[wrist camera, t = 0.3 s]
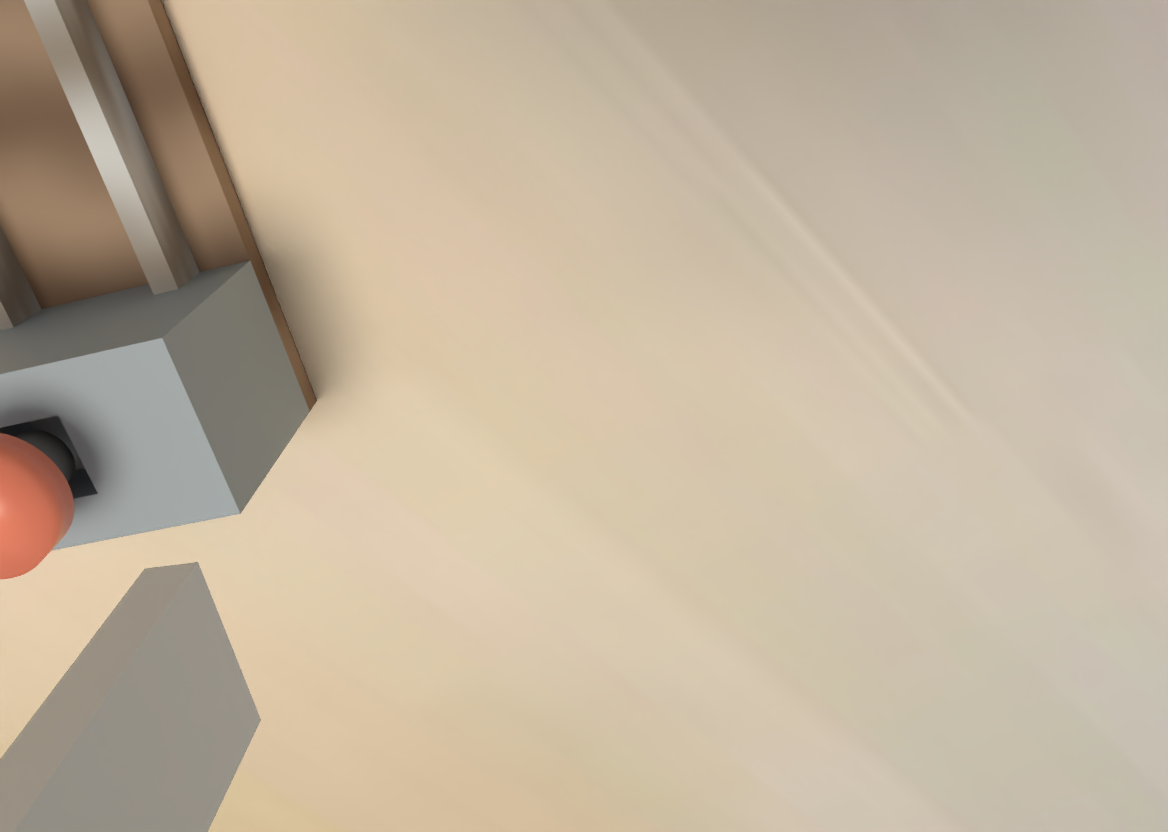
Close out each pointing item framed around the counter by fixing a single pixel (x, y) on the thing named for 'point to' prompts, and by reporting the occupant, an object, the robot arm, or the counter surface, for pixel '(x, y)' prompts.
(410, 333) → the counter surface
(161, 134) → the rail track
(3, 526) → the button
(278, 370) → the cabinet
